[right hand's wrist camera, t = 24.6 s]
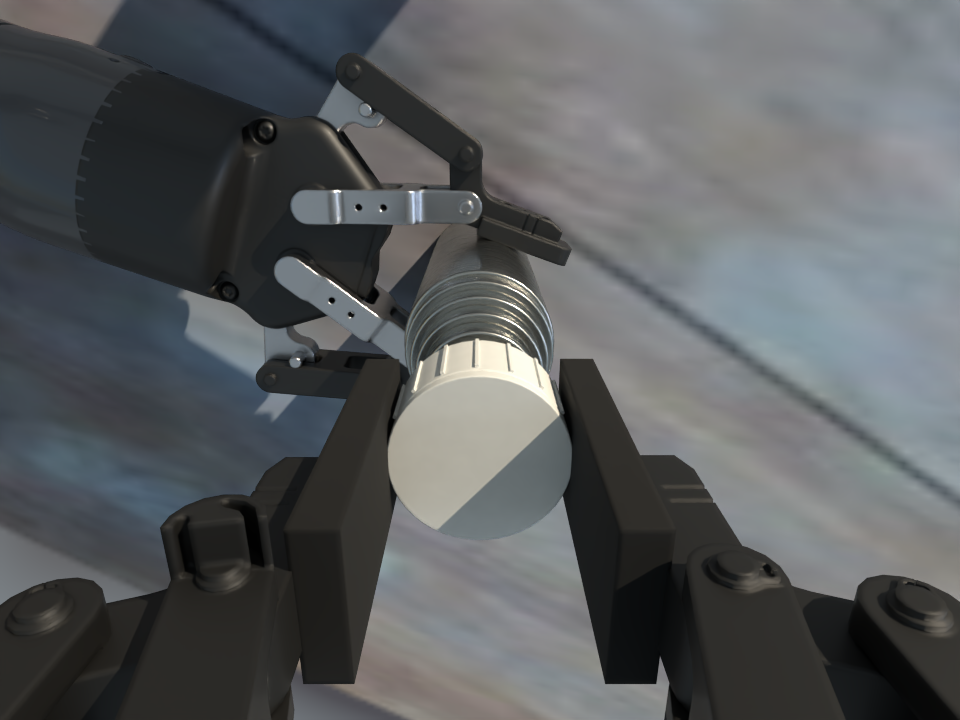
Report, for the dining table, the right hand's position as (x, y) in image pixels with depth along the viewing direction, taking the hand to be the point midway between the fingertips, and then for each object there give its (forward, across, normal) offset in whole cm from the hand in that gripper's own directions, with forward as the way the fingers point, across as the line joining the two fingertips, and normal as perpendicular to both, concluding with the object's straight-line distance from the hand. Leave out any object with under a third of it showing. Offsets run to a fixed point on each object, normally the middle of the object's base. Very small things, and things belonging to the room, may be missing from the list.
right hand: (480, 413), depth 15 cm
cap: (-2, 0, 0) cm, 2 cm away
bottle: (+18, 0, 0) cm, 18 cm away
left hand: (+12, -2, +1) cm, 12 cm away
